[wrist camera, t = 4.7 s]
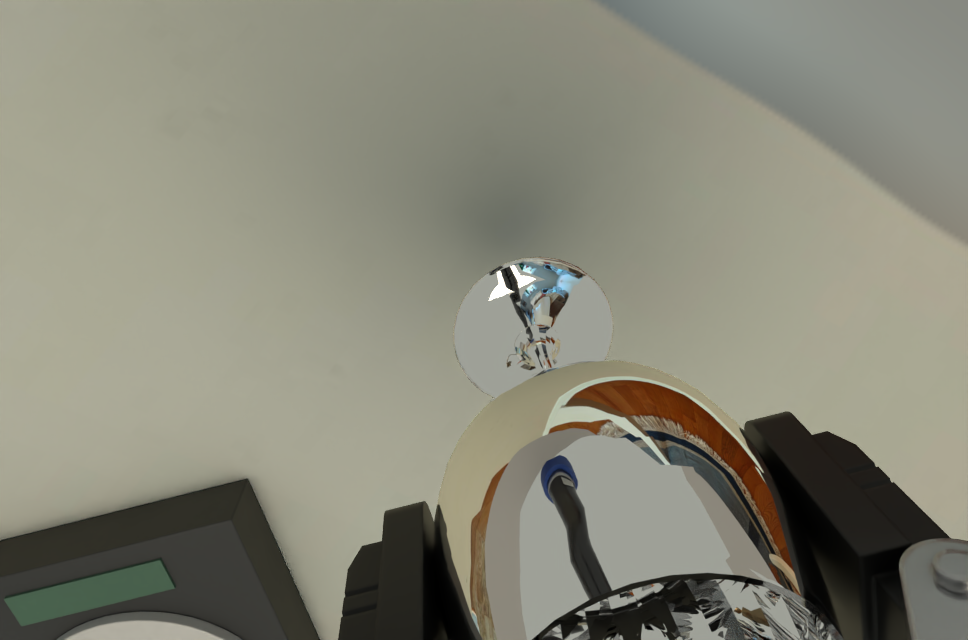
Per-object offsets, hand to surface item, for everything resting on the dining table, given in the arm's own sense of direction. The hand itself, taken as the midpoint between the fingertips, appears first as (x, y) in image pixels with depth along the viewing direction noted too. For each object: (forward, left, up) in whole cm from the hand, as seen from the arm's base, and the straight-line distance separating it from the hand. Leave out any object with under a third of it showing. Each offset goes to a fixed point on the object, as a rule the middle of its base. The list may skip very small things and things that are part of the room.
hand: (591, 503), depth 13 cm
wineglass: (0, 0, -8) cm, 8 cm away
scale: (+16, -21, -18) cm, 32 cm away
